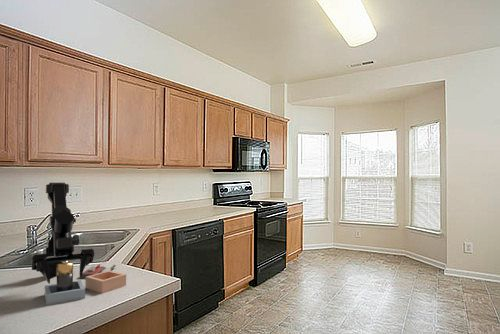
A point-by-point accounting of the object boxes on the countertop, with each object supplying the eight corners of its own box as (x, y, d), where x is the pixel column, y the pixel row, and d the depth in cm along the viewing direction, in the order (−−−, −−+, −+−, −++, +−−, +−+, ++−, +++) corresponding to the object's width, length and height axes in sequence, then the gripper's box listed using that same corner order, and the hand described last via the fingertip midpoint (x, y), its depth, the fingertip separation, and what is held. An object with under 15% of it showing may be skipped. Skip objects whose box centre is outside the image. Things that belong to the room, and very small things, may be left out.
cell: (64, 293, 115) (64, 258, 116) (75, 294, 114) (76, 259, 114) (52, 298, 111) (53, 262, 111) (65, 299, 110) (65, 263, 110)
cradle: (44, 297, 114) (44, 285, 114) (80, 291, 120) (80, 280, 120) (46, 308, 105) (46, 295, 105) (85, 301, 111) (85, 288, 111)
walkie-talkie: (99, 282, 131) (117, 268, 151) (99, 271, 132) (117, 258, 152) (76, 282, 131) (97, 268, 151) (76, 271, 131) (97, 258, 151)
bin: (85, 290, 121) (85, 276, 121) (109, 283, 129) (109, 270, 129) (102, 296, 116) (102, 281, 116) (126, 288, 124) (126, 274, 124)
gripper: (32, 230, 111) (32, 271, 102) (94, 225, 122) (99, 263, 112) (31, 249, 117) (31, 290, 108) (90, 243, 128) (94, 280, 118)
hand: (65, 280), depth 112 cm, fingers open, 9 cm apart
